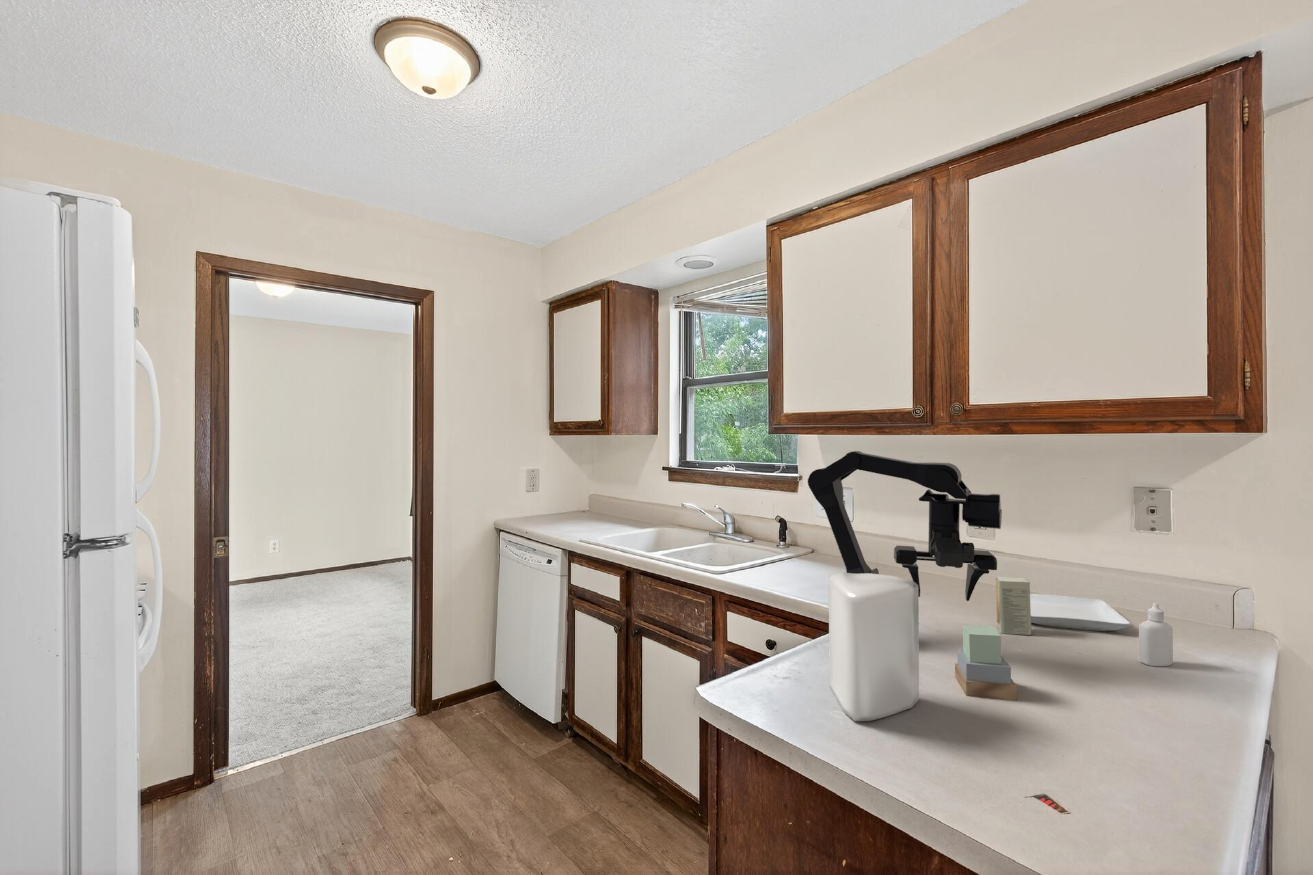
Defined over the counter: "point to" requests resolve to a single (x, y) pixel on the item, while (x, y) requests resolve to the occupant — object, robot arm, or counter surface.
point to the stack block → (982, 644)
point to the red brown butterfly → (1051, 803)
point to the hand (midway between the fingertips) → (942, 598)
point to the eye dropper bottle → (1155, 639)
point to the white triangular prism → (873, 644)
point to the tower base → (986, 688)
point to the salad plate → (1075, 613)
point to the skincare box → (1013, 605)
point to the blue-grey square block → (984, 670)
